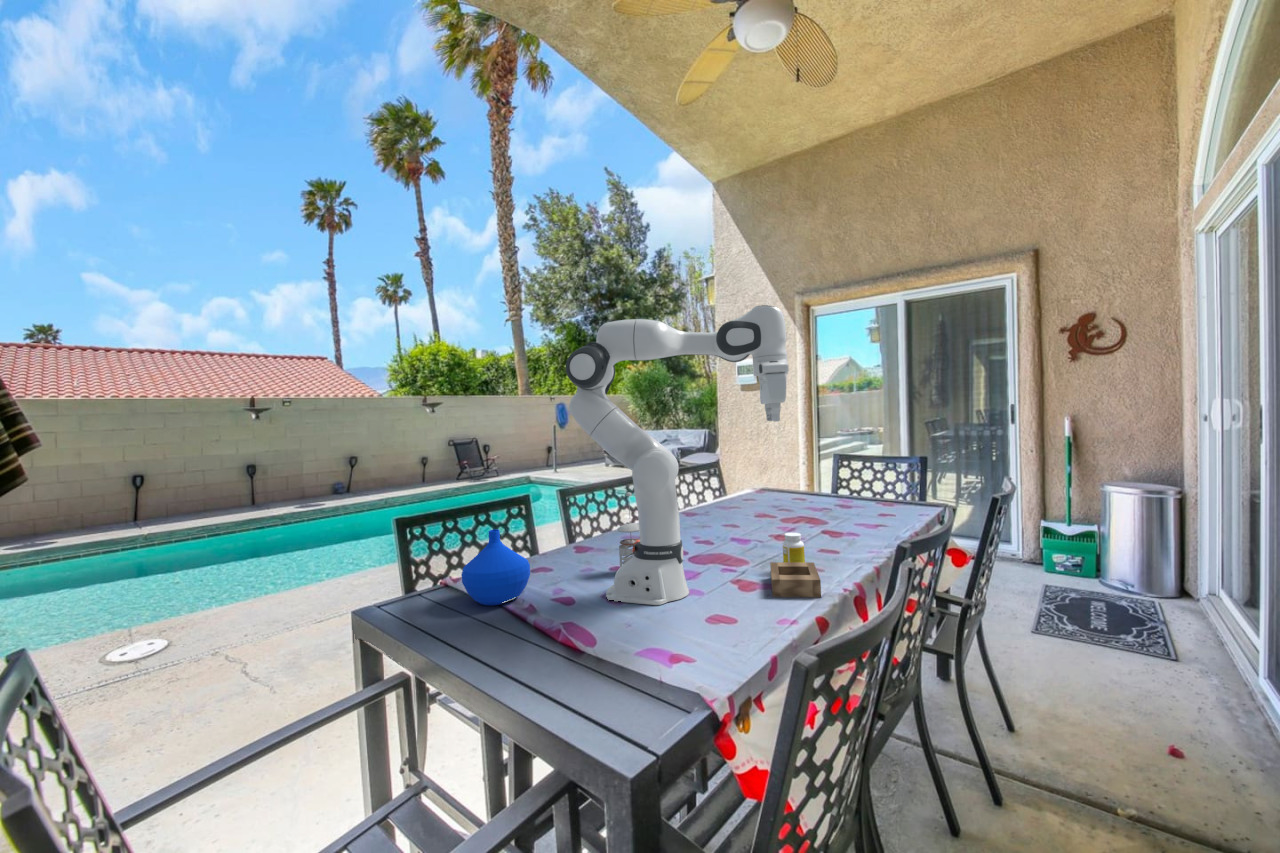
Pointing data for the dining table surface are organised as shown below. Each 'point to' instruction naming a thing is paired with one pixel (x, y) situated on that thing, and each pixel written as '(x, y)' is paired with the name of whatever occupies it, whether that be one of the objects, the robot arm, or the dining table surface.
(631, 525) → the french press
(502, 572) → the vase
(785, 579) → the box
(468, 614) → the dining table surface
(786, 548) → the pill bottle
